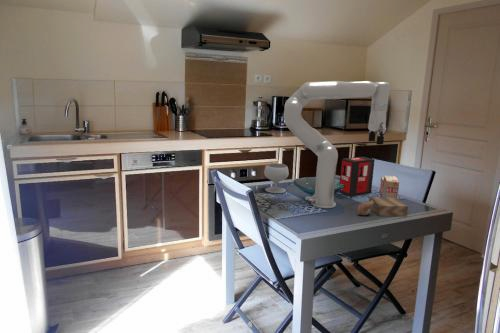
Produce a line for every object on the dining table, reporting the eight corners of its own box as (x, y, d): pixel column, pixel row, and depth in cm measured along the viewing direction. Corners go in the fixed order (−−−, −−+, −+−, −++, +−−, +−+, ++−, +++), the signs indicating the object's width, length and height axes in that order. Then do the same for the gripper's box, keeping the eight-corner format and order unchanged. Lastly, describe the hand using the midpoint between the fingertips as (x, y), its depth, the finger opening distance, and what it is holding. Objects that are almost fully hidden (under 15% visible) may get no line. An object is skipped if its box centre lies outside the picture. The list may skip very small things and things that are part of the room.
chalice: (289, 188, 225) (290, 163, 222) (285, 195, 212) (287, 169, 208) (265, 186, 228) (267, 162, 225) (261, 193, 215) (262, 167, 211)
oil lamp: (371, 213, 188) (373, 197, 186) (376, 215, 184) (378, 200, 182) (355, 214, 185) (357, 198, 183) (360, 217, 181) (361, 201, 180)
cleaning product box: (359, 189, 229) (362, 156, 224) (371, 193, 221) (374, 159, 217) (338, 192, 221) (341, 158, 216) (350, 196, 213) (353, 161, 209)
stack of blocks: (379, 191, 225) (381, 171, 222) (390, 192, 224) (392, 172, 221) (384, 202, 205) (387, 180, 202) (396, 204, 204) (399, 181, 201)
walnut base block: (378, 215, 184) (379, 206, 183) (368, 206, 198) (369, 197, 197) (407, 216, 185) (408, 206, 184) (394, 206, 199) (395, 197, 197)
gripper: (364, 106, 194) (361, 139, 198) (379, 109, 177) (375, 145, 181) (379, 106, 194) (375, 140, 198) (394, 109, 178) (390, 145, 182)
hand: (375, 142), depth 190 cm, fingers open, 9 cm apart
